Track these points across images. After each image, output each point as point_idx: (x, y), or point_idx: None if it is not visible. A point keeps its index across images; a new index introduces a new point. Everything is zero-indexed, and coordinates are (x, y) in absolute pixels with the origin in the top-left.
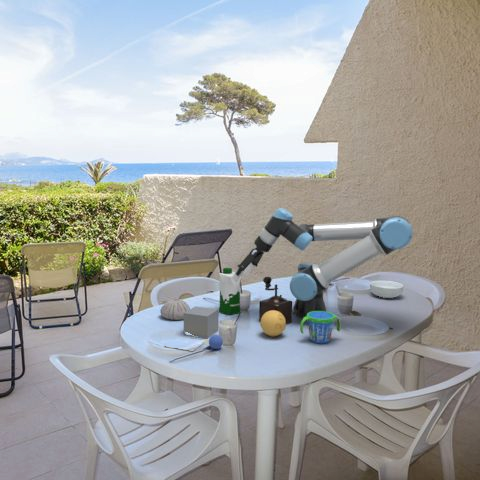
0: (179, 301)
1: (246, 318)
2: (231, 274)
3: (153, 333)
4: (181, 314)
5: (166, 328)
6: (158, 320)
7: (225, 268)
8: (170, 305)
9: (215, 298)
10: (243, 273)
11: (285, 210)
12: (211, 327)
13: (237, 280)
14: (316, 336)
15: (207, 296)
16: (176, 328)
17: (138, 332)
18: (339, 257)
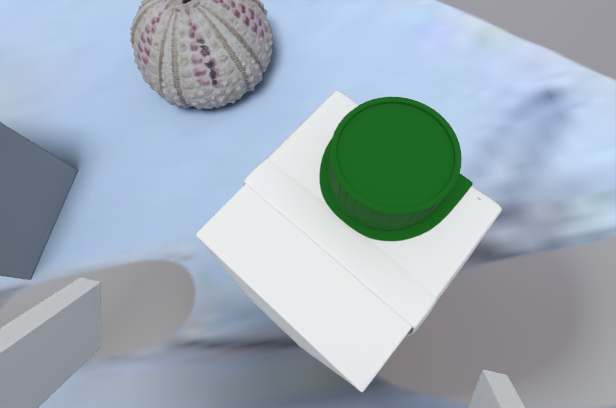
0: (169, 19)
1: (234, 398)
2: (314, 241)
3: (7, 49)
4: (144, 77)
5: (62, 72)
6: None
7: (405, 123)
8: (143, 2)
9: (574, 148)
10: (481, 393)
11: None
12: None
13: (78, 367)
14: None
15: (594, 101)
16: (62, 105)
17: (21, 4)
18: None
